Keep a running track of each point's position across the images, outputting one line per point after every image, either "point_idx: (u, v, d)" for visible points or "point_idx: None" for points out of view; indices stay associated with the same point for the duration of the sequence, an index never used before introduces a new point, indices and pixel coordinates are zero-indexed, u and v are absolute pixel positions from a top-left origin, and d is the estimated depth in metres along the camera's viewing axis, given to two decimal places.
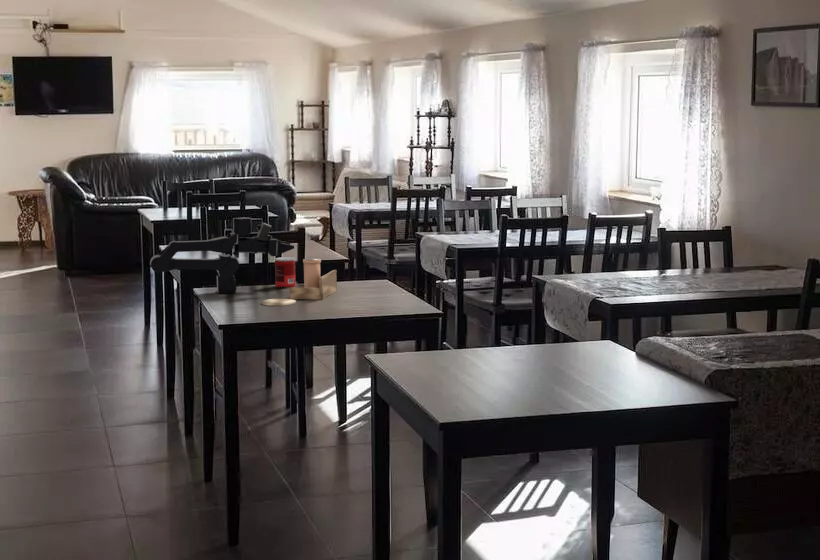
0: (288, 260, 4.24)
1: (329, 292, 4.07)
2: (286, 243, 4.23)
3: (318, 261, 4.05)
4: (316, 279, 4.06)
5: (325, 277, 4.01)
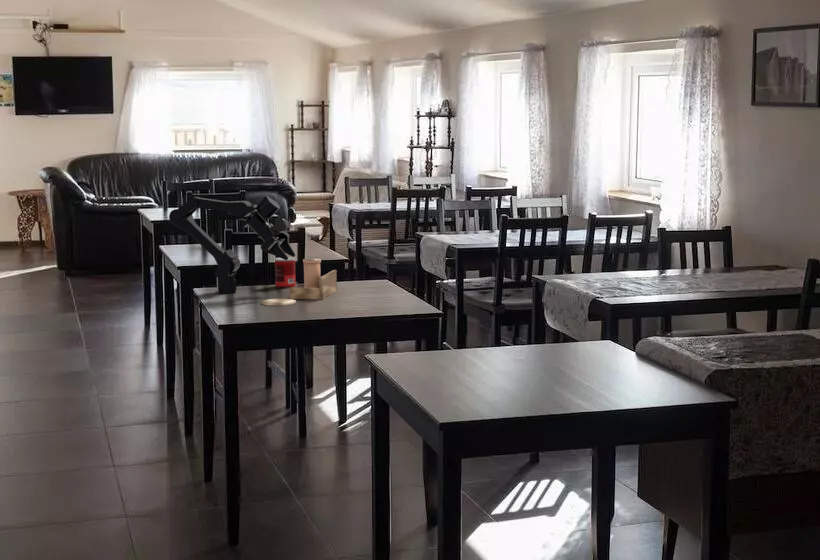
0: (288, 260, 4.24)
1: (329, 292, 4.07)
2: (292, 252, 4.13)
3: (318, 261, 4.05)
4: (316, 279, 4.06)
5: (325, 277, 4.01)
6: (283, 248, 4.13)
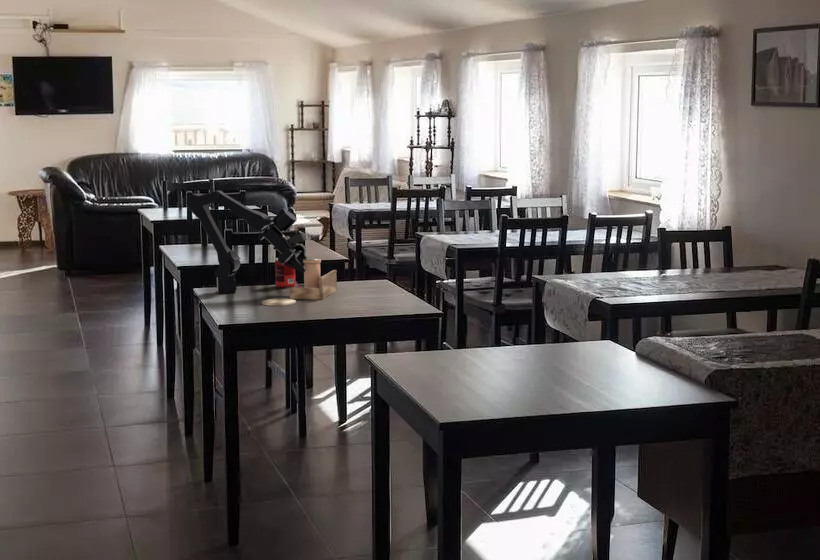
0: None
1: (329, 292, 4.07)
2: None
3: (318, 261, 4.05)
4: (316, 279, 4.06)
5: (325, 277, 4.01)
6: (300, 260, 4.13)
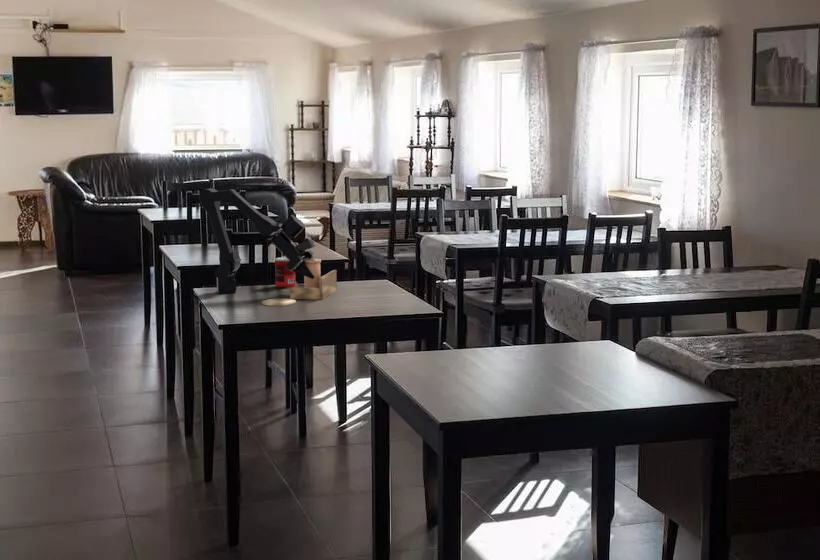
0: (288, 260, 4.24)
1: (329, 292, 4.07)
2: None
3: (318, 261, 4.05)
4: (316, 279, 4.06)
5: (325, 277, 4.01)
6: None
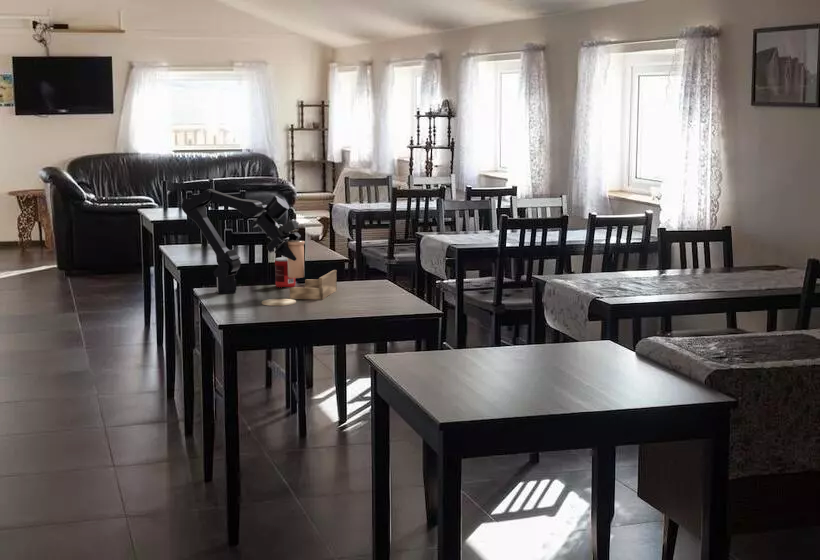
0: None
1: (329, 292, 4.07)
2: None
3: (301, 243, 4.01)
4: (299, 261, 4.02)
5: (325, 277, 4.01)
6: None
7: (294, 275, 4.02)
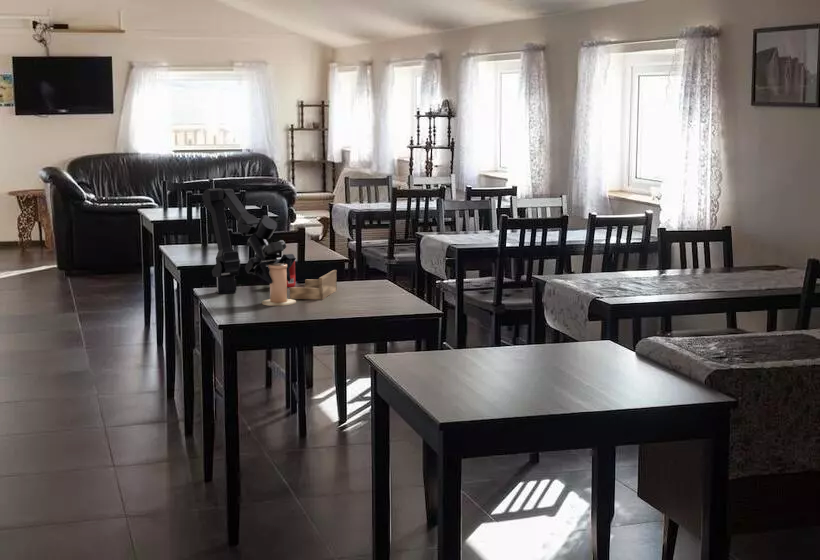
0: None
1: (329, 292, 4.07)
2: (287, 276, 3.91)
3: (279, 267, 3.85)
4: (277, 286, 3.87)
5: (325, 277, 4.01)
6: None
7: (273, 300, 3.88)
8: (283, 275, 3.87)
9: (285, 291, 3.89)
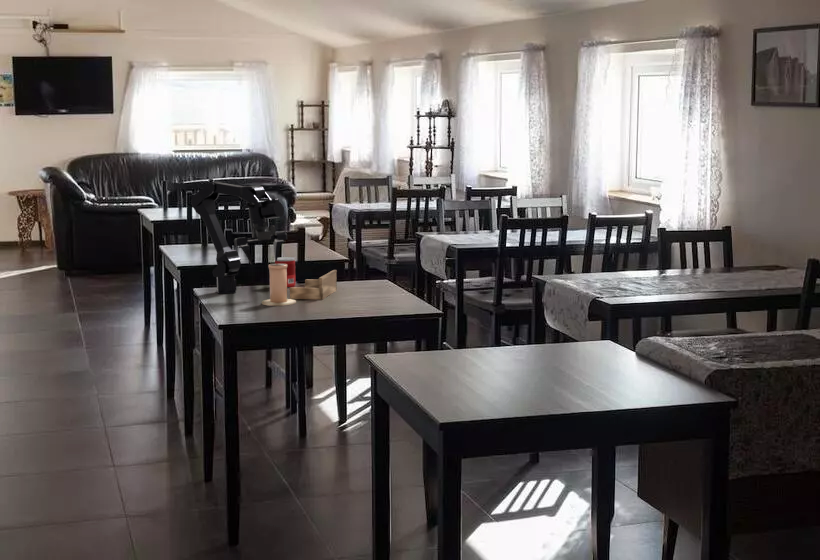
0: (288, 260, 4.24)
1: (329, 292, 4.07)
2: (275, 257, 4.05)
3: (279, 267, 3.85)
4: (277, 285, 3.87)
5: (325, 277, 4.01)
6: (274, 247, 4.06)
7: (273, 300, 3.88)
8: (283, 275, 3.87)
9: (285, 291, 3.89)
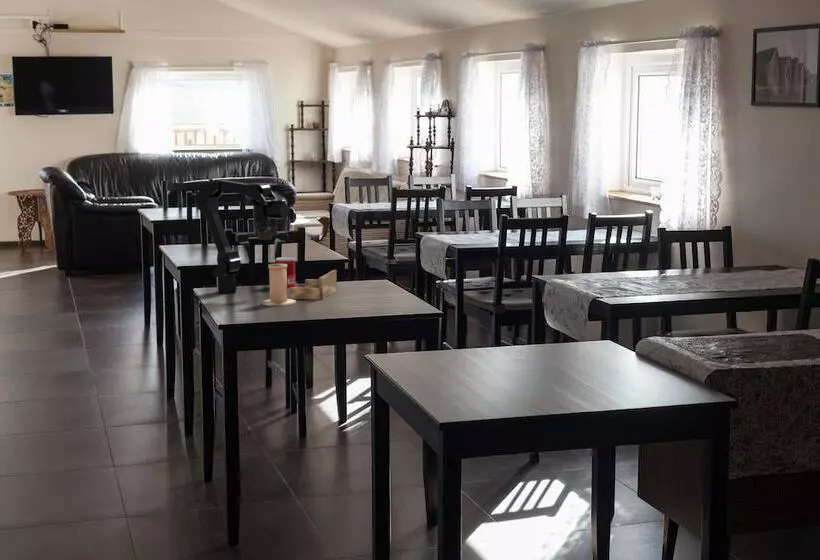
0: (288, 260, 4.24)
1: (329, 292, 4.07)
2: (274, 256, 4.06)
3: (279, 267, 3.85)
4: (277, 285, 3.87)
5: (325, 277, 4.01)
6: (275, 245, 4.07)
7: (273, 300, 3.88)
8: (283, 275, 3.87)
9: (285, 291, 3.89)
